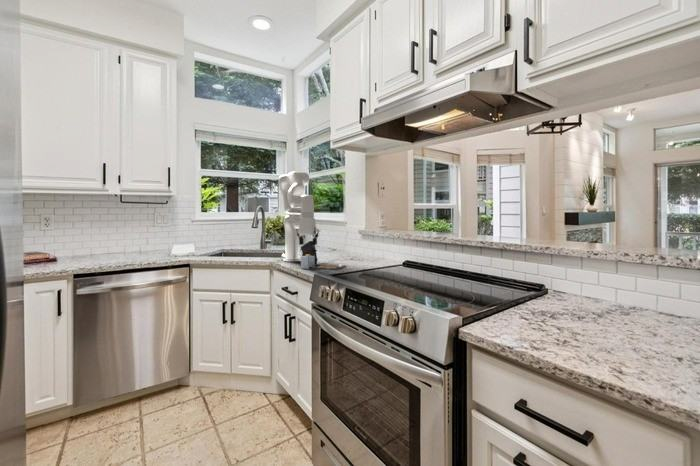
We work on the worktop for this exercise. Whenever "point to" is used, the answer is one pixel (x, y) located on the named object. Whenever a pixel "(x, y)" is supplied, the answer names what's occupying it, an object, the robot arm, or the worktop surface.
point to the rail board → (331, 266)
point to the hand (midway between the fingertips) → (308, 244)
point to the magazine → (309, 250)
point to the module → (307, 261)
